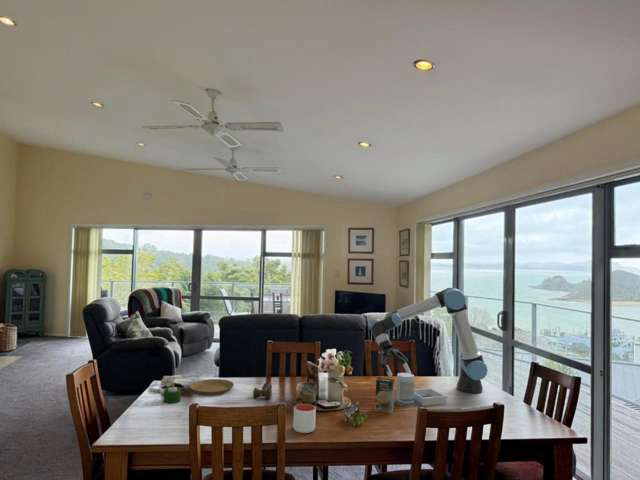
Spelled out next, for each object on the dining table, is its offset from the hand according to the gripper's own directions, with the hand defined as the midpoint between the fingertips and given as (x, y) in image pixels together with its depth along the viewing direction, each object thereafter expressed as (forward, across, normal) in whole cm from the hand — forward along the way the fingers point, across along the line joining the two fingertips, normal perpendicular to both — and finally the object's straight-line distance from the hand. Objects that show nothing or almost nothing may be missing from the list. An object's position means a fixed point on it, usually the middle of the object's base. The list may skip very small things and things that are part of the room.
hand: (400, 375), depth 243 cm
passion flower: (+22, +42, +2) cm, 48 cm away
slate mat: (+13, 0, -7) cm, 14 cm away
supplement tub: (+12, 0, -7) cm, 14 cm away
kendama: (-16, +67, -36) cm, 78 cm away
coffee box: (+17, +19, -3) cm, 25 cm away
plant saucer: (-31, +90, -51) cm, 108 cm away
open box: (+14, -14, -5) cm, 21 cm away
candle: (-25, +114, -44) cm, 125 cm away
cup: (+20, +68, 0) cm, 71 cm away
